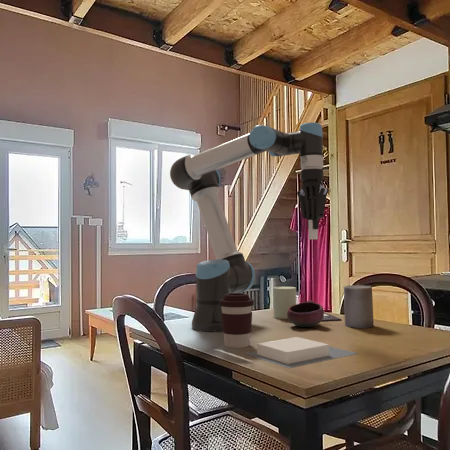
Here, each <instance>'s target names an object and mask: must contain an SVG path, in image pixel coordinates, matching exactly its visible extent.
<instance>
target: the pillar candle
mask: <svg viewBox="0 0 450 450" xmlns="http://www.w3.org/2000/svg"><path fill="white" fill-rule="evenodd" d="M343 300H344V301H343V302H344V305H343V306H344V308H343V309H344V325H345V327H347V328H356V329H368V328H371V327H372V328H373V327H374V304H373V303H374V302H373V288H372V286H371V285H365V284H364V285H363V284H361V285H360V284H359V282H358V283H357V284H354V285H344V286H343Z"/></svg>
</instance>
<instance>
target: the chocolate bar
mask: <svg viewBox="0 0 450 450" xmlns="http://www.w3.org/2000/svg"><path fill="white" fill-rule="evenodd" d="M339 321H340V322H341V321H342V318H340V317H337V316H336V315H335V316H334V315H333V314H329V313H327V312H326V311H324V317H323V319H322V321H321V322H339Z"/></svg>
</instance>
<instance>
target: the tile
mask: <svg viewBox="0 0 450 450" xmlns="http://www.w3.org/2000/svg"><path fill="white" fill-rule="evenodd" d="M329 346H330V344H328V343H324V342H320V341H315V340H313V339H307V338H302V337H299V336H294V337H289V338H282V339H277V340H272V341H265V342H258V343H256V351H257V354H258V355H261V356H264V357H267V358H270V359H273V360H277V361H280V362H283V363H286V364H290V363H295V362H300V361H305V360H310V359H314V358H319V357H324V356H329Z"/></svg>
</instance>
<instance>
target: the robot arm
mask: <svg viewBox="0 0 450 450" xmlns="http://www.w3.org/2000/svg"><path fill="white" fill-rule="evenodd" d="M323 135H324V134H323V127H322V124H321V123H318V122H311V121H310V122H305V123H302V124H300V126H299V131H294V132H287V133H286V132H283V131H281V130H278V129H275V128H273V127H271V126H269V125H263V124H258V125H255V126H254V127H253V128H251V130H250V132H249V133H247V134H245V135H242V136H240V137H237V138H235V139H233V140H230V141H227V142H224V143H222V144H220V145H217V146H214V147H213V148H209V149H207V150H204V151H202V152H200V153H197V154H195V155H194V154H193V153H192V154H191V153H190V154H188V155H185V156H182V157H180V158H179V159H178V158H177V160H176V161H174V162H173V163H172V165H171V167H170V170H169V177H170V180H171V182H172V184H173V185H174V186H175V187H177V188H178V189H181V190H185V191H188V192H189V195H190V197H191V198H190V199H192V200H193V201H195V202H196V203H197V206H198V210H199V212H200V214H201V218H202V221H203V224H204V227H205V230H206V232H207V235H208V239H209V241H210V244H211V247H212V251H213V253H214V256H215V259H211V260H210V259H209V260H208V259H207V260H204V261H201V262H199V263H198V264H197V265H196V270H195V271H196V272H195V279H196V280H195V285H196V307H195V311H194V314H193V316H192V321H191V329H193V330H195V331H201V332H219V331H220V332H221V331H222V332H223V330H222V318H221V312H222V308H221V306H220V305H219V300H220V299H223V298H224V295H225V294H229V293H244V292H246V291H248V290H250V289H251V288H252V286H253V285H254V282H255V279H256V271H255V269H254V267H253V265H252V263H249V262H248V261H247V260H246V259H245V256H244V253H243V252H241V251H239V250H238V249H237V247H236V243H235V241H234V237H233V235H232V232H231V229H230V226H229V223H228V220H227V218H226V215H225V212H224V208H223V206H222V203H221V200H220V198H219V195H218V194H219V193H220V190H221V189H220V185H221V183H220V182H221V181H222V179H221V178H222V177H221V174H220V173H221V172H220V171H219V169H222V168H225V167H228V166H229V165H233V164H235V163H237V162H240V161H243V160H246V159H248V158H251V157H254V156H256V155H260V154H262V153H265V152H268V154H269V155H270V156H271V157H285V156H291V155H299V154H300V169H301V171H300V182H302V186H301V189H300V190H298V191H296V194H297V196H298V197H297V198H298V199H299V205H300V209H301V215H302V218H303V219H306V220H307V223H306V224H307V230H308V240H318V238H319V237H318V235H319V234H318V233H319V232H318V231H319V228H320V227H319V226H320V225H319V222H320V221H319V220H320V219H321V218H324V214H325V209H326V201H327V195H328V193H329V190H330V189H329V188H326V187H324V183H323V181H324V169H323V168H324V154H323V153H324V149H323V148H324V147H323V146H324V145H323V144H324V143H323V141H324V136H323Z"/></svg>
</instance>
